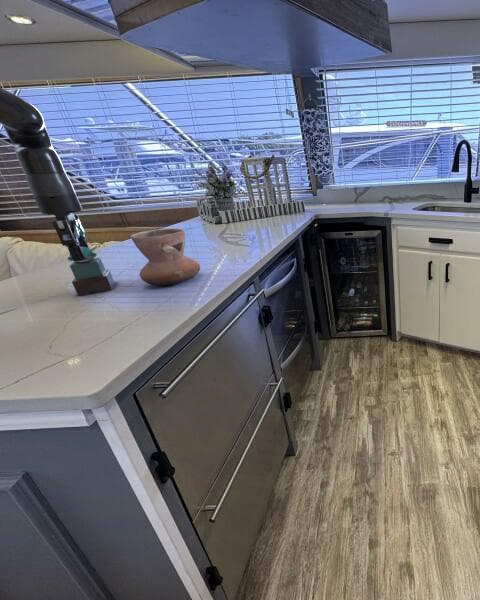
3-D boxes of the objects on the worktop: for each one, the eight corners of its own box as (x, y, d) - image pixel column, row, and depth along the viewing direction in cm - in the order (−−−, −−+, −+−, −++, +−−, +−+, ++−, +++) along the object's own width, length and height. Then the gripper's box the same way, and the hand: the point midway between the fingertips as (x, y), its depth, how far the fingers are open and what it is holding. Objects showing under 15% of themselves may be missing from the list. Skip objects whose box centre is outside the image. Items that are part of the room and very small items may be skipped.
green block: (76, 280, 84) (69, 265, 83) (80, 275, 89) (73, 261, 87) (103, 275, 87) (97, 261, 86) (105, 271, 91) (100, 257, 90)
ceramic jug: (210, 280, 92) (195, 231, 87) (149, 295, 83) (129, 241, 78) (193, 268, 104) (180, 224, 99) (139, 280, 95) (120, 232, 90)
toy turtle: (98, 256, 90) (92, 243, 89) (99, 261, 85) (93, 247, 84) (70, 261, 87) (63, 247, 85) (69, 266, 82) (62, 252, 80)
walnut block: (78, 295, 85) (71, 281, 83) (83, 288, 90) (77, 275, 89) (111, 289, 88) (106, 275, 87) (114, 282, 94) (109, 269, 92)
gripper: (41, 193, 83) (70, 254, 89) (23, 196, 72) (57, 265, 78) (80, 190, 87) (104, 249, 93) (68, 193, 76) (97, 260, 82)
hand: (82, 257), depth 86 cm, fingers open, 8 cm apart
